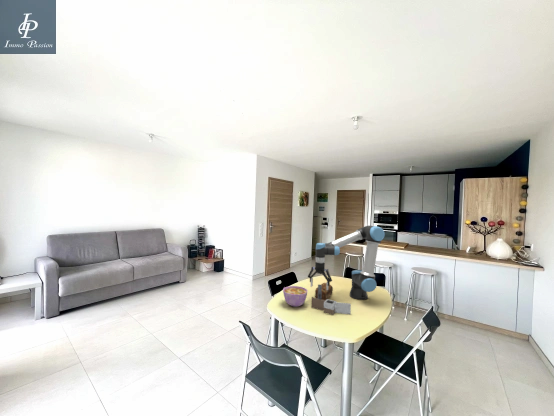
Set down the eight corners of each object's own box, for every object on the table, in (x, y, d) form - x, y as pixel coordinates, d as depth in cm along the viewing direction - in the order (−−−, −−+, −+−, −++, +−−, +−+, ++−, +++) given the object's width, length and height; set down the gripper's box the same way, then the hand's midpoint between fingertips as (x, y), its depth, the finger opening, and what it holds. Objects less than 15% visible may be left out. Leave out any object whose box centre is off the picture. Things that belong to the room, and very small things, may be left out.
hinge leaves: (314, 304, 174) (314, 295, 174) (351, 313, 159) (351, 303, 159) (309, 308, 166) (310, 299, 166) (347, 319, 151) (348, 308, 151)
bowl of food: (290, 297, 187) (291, 284, 188) (311, 303, 176) (311, 289, 176) (277, 305, 171) (278, 290, 171) (299, 312, 160) (300, 296, 160)
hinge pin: (318, 302, 178) (318, 284, 179) (321, 303, 177) (322, 285, 177) (317, 303, 176) (317, 285, 176) (320, 304, 174) (320, 286, 174)
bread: (322, 292, 202) (322, 281, 203) (333, 294, 196) (333, 283, 197) (314, 298, 187) (314, 287, 187) (326, 301, 181) (326, 289, 181)
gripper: (304, 260, 180) (303, 286, 180) (333, 265, 167) (332, 292, 167) (307, 259, 187) (307, 283, 186) (336, 263, 174) (335, 289, 173)
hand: (319, 288), depth 176 cm, fingers open, 13 cm apart
